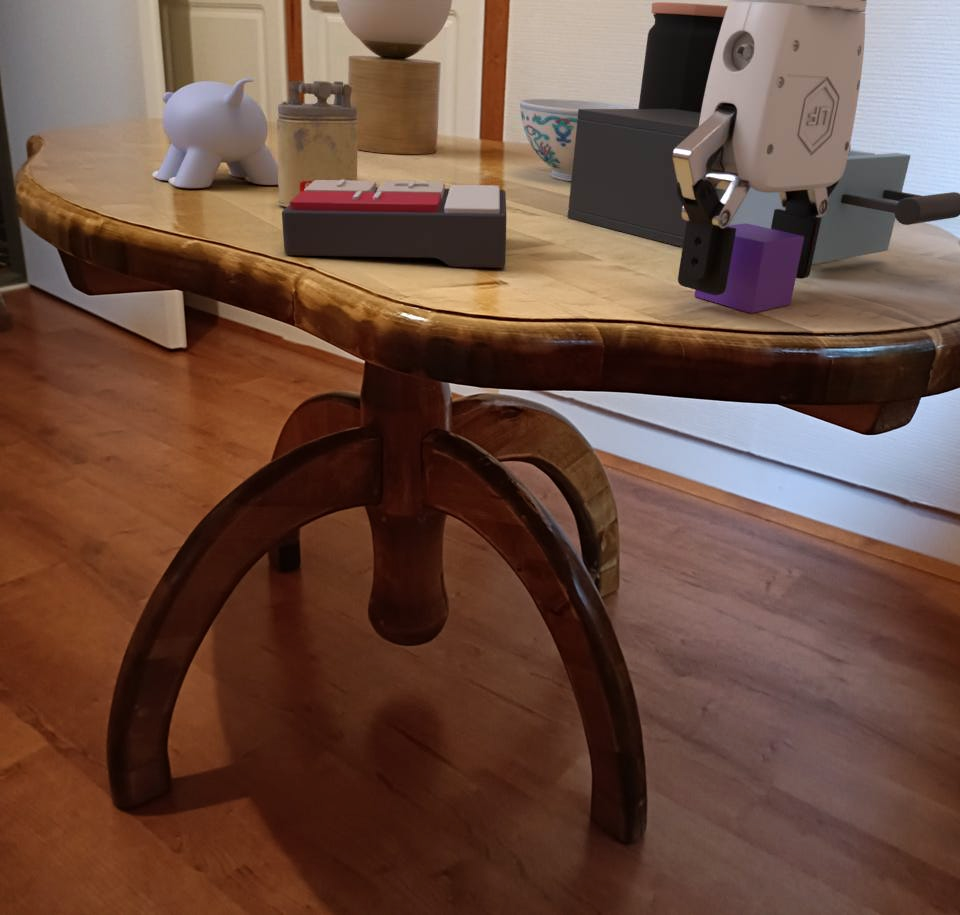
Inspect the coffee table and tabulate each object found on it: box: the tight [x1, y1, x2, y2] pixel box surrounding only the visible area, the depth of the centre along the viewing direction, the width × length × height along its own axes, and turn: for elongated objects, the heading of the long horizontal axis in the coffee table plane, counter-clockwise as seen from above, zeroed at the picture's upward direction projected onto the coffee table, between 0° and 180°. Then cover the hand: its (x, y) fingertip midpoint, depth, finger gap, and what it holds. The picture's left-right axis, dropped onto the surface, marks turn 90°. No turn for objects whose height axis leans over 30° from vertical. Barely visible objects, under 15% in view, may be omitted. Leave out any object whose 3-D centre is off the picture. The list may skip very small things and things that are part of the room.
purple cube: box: [694, 223, 804, 314], centre depth 61 cm, size 4×4×4 cm
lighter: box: [276, 80, 358, 208], centre depth 80 cm, size 7×4×10 cm, turn 125°
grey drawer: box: [716, 149, 960, 265], centre depth 73 cm, size 19×11×7 cm, turn 41°
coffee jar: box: [638, 1, 728, 113], centre depth 95 cm, size 11×11×18 cm
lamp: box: [336, 0, 453, 155], centre depth 118 cm, size 15×14×25 cm
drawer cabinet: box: [567, 109, 716, 248], centre depth 82 cm, size 15×13×9 cm
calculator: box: [281, 180, 507, 269], centre depth 69 cm, size 11×4×15 cm
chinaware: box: [519, 98, 639, 182], centre depth 106 cm, size 15×15×8 cm
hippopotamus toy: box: [151, 77, 278, 189], centre depth 89 cm, size 11×15×10 cm
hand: (745, 280), depth 61 cm, fingers open, 8 cm apart
